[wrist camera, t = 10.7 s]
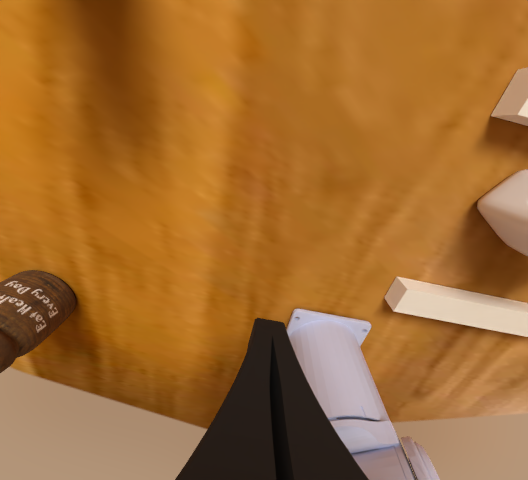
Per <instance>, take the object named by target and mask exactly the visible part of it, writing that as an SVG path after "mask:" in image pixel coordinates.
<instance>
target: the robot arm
mask: <svg viewBox="0 0 528 480" xmlns="http://www.w3.org/2000/svg"><path fill="white" fill-rule="evenodd" d="M295 317H298V318H295ZM363 329H364V330H363ZM370 329H371V324H370V323H369V322H368V321H363V320H357V319H352V318H347V317H341V316H336V315H330V314H325V313H320V312H314V311H309V310H303V309H295V310H294V311H293V313H292V316H291V318H290V321H289V324H288V327H287V329H286V327H285V324H284V323H283V322H278V321H272V320H266V319H261V318H257V319H255V322H254V325H253V329H252V333H251V336H250V340H249V344H248V349H247V353H246V356H245V359H244V361H243V363H242V366H241V368H240V370H239V372H238V374H237V377H236V379H235V381H234V383H233V385H232V387H231V389H230V391H229V393H228V395H227V397H226V398H225V400H224V402H223V404H222V406H221V407H220V409H219V411H218V413H217V415H216V416H215V418H214V420H213V422H212V423H211V425H210V427H209V428H208V430H207V432H206V433H205V435H204V436H203V438H202V440H201V441H200V443H199V444H198V446H197V448H196V449H195V451H194V452H193V454H192V456H191V457H190V458H189V460H188V462H187V463H186V465H185V466H184V468H183V469H182V471H181V472H180V474H179V475H178V476H177V478H176V479H175V480H416V479H417V480H440V479H439V477H438V475H437V473H436V471H435V469H434V467H433V465H432V463H431V461H430V459H429V457H428V455H427V453H426V451H425V450H424V448H423V447H422V446H421V445H419V444H418V443H416V442H413V440H412V438H410V437H408V436H407V437H402V438H401V439H402V442H403V444H404V447H405V449H406V451H407V454H408V456H409V461H408V459H407V457H406V454H405V452H404V449H403V447H402V445H401V443H400V440H399V438H398V436H397V434H396V432H395V429H394V427H393V425H392V423H391V421H390V420H389V417H388V415H387V412H386V410H385V407H384V405H383V403H382V400H381V398H380V395H379V393H378V390H377V388H376V385H375V383H374V381H373V378H372V376H371V373H370V371H369V368H368V366H367V363H366V361H365V359H364V356H363V354H362V351H361V349H360V346H361V344H362V342H363V341H364V339H365V337H366V336H367V334H368V332H369V331H370ZM409 462H410V464H411V466H410V464H409ZM411 467H412V469H413V471H412V469H411ZM413 472H414V473H413ZM414 474H415V476H416V478H415V476H414Z"/></svg>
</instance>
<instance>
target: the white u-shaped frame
mask: <svg viewBox="0 0 528 480" xmlns="http://www.w3.org/2000/svg"><path fill="white" fill-rule="evenodd" d="M491 116H492V117H496V118H500V119H504V120H507V121H511V122H515V123H518V124H522V125H526V126H528V67H527V68H523V69H519V70H517V72H516V73H515V75H514V77H513V78H512V80H511V82H510V84H509V85H508V87H507V89H506V90H505V92H504V94H503V96H502V97H501V99H500V101H499V102H498V104H497V106H496V108H495V109H494V111H493V113H492V114H491ZM384 298H385V300H386V301H387V303H388V304H389V305H390V307H391V308H392V310H393V311H394V312H399V313H405V314H410V315H415V316H420V317H426V318H431V319H436V320H441V321H447V322H452V323H457V324H462V325H468V326H473V327H478V328H483V329H489V330H494V331H499V332H504V333H510V334H515V335H520V336H525V337H528V303H525V302H520V301H515V300H510V299H505V298H500V297H495V296H490V295H485V294H480V293H476V292H471V291H466V290H461V289H456V288H451V287H446V286H441V285H436V284H431V283H426V282H421V281H416V280H412V279H407V278H402V277H396V278H395V280H394V282H393V283H392V285H391V287H390V289H389V290H388V292H387V294H386V295H385V297H384Z"/></svg>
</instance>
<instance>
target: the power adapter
mask: <svg viewBox="0 0 528 480" xmlns="http://www.w3.org/2000/svg"><path fill="white" fill-rule="evenodd" d="M477 209H478V210H479V212H480V213H481V215H482V216H483V217H484V219H485V220H486V221H487V222H488V224H489V225H490V226H491V228H492V229H493V230H494V231H495V233H496V234H497V235H498V236H499V237H500V238H501V239H502V241H503V242H504V243H506V244H507V245H508V246H509V247H511V248H513V249H515V250H517V251H518V252H520V253H522V254H524V255H526V256H528V169H526V170H521V171H517V172H515V173H514V174H512V175H511V176H509V177H508V178H506V179H505V180H503V181H502V182H501V183H499V184H498V185H497V186H495V187H494V188H493V189H491V190H490V191H489V192H487V193H486V194H485V195H484V196H483V197H481V198H480V199H479V200H478V204H477Z"/></svg>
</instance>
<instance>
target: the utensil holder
mask: <svg viewBox="0 0 528 480" xmlns="http://www.w3.org/2000/svg"><path fill="white" fill-rule="evenodd" d="M75 305H76V299H75V296H74V293H73V292H72V290H71V289H70V288H69V286H68V285H67V284H66V283H64V282H63V281H62V280H60V279H59V278H57V277H56V276H54V275H51V274H49V273H46V272H42V271H34V270H31V271H24V272H21V273H18V274H16V275H13V276H11V277H10V278H8V279H6V280H4V281H2V282H0V373H1V372H2V371H4V370H5V369H7V368H8V367H9V366H10V365H11V364H12V363H13V362H14V361H15V359H16V358H17V357H20V356H23V355H25V354H27V353H28V352H30V351H31V350H33V349H34V348H35V347H37V346H38V345H39V344H40V343H41V342H42V341H43V340H45V339H46V338H47V337H48V336H49V335H50V334H51V333H52V332H53V331H54V330H55V329H56V328H57V327H58V326H60V325H61V324H62V323H63V322H64V321H65V320H66V319H67V318H68V317H69V315H70V314H71V313H72V312H73V310H74V308H75Z"/></svg>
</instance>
